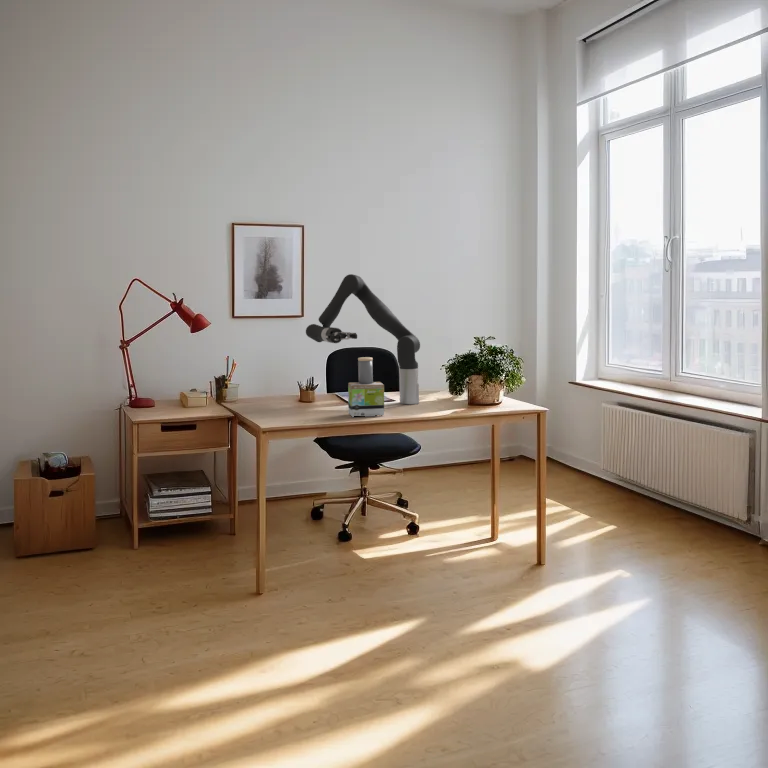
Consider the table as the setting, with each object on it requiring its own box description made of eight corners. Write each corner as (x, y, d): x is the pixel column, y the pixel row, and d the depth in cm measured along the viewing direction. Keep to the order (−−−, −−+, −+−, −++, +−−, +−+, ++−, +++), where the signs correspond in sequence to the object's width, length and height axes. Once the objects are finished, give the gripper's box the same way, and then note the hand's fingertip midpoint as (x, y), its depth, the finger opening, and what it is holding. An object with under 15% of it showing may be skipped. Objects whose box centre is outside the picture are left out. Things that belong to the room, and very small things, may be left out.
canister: (372, 381, 367) (372, 357, 365) (373, 383, 360) (373, 358, 359) (358, 382, 366) (357, 357, 365) (358, 384, 360) (358, 358, 358)
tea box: (351, 418, 359) (351, 385, 357) (348, 414, 369) (347, 382, 367) (384, 416, 362) (384, 383, 360) (380, 412, 372) (379, 380, 370)
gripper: (318, 328, 389) (335, 329, 376) (344, 326, 397) (361, 328, 384) (319, 343, 391) (335, 345, 377) (344, 341, 398) (361, 344, 385)
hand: (348, 337), depth 380 cm, fingers open, 8 cm apart
